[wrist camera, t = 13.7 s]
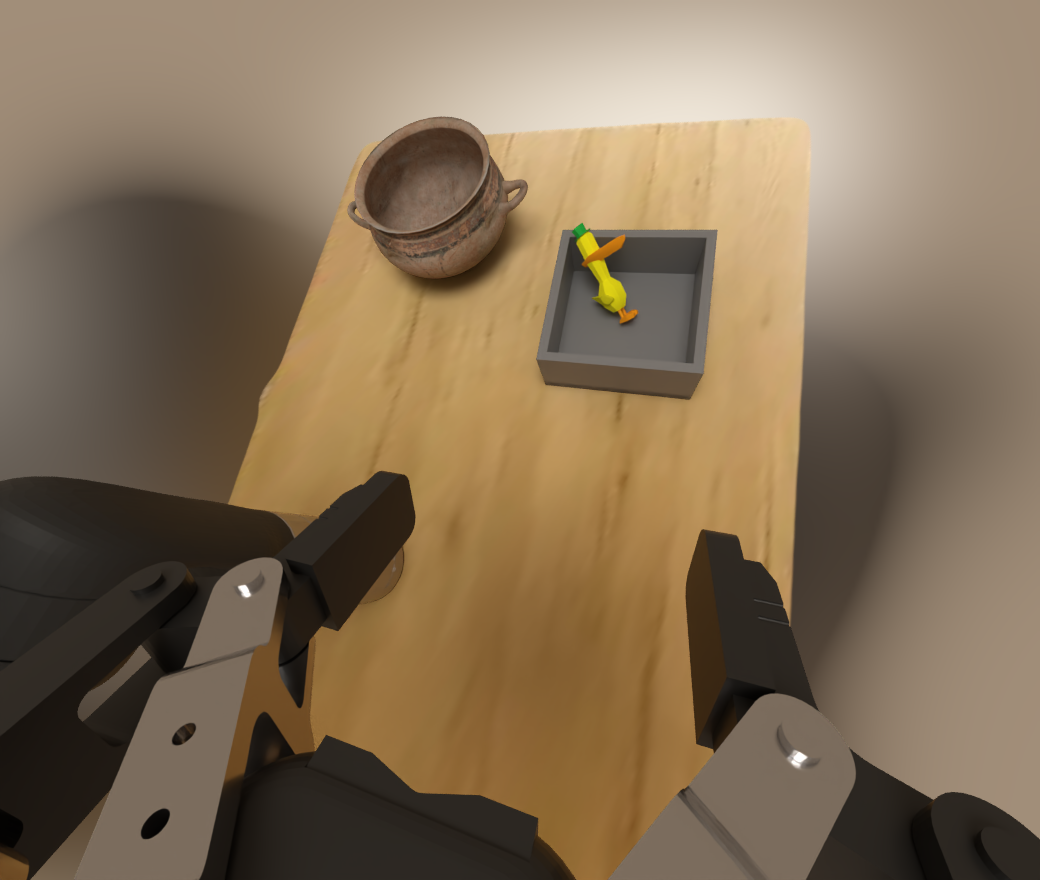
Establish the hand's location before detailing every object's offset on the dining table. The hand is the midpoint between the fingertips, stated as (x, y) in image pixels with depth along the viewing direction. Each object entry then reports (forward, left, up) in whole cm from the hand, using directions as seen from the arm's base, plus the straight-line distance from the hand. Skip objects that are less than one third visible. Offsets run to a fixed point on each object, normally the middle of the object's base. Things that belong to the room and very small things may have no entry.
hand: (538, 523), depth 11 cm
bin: (0, +27, -35) cm, 44 cm away
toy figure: (+1, +27, -33) cm, 42 cm away
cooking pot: (-26, +39, -35) cm, 58 cm away
